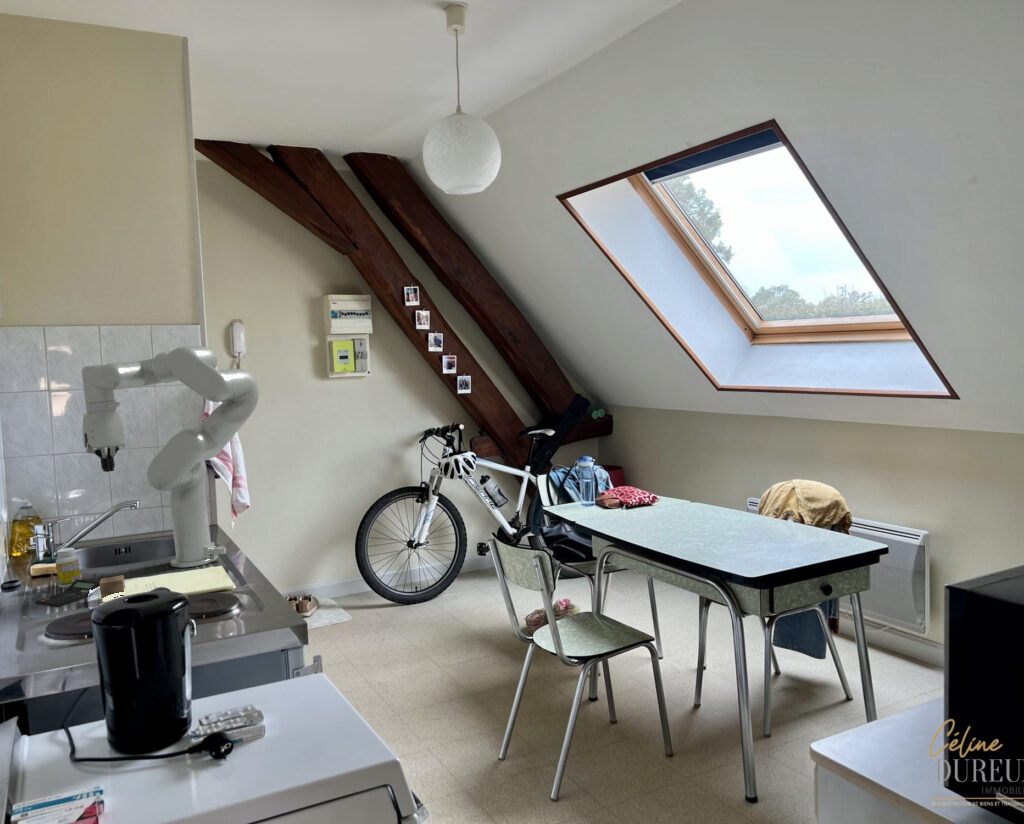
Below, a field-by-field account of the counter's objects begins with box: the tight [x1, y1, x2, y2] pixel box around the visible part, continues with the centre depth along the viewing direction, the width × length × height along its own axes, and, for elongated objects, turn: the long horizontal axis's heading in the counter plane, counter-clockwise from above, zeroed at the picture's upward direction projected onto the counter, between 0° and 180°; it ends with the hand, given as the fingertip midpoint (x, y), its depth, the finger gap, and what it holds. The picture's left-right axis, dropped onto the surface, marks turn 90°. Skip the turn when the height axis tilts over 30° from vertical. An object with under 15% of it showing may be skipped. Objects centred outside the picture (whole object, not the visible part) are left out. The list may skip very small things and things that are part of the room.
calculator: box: [34, 579, 100, 608], centre depth 199 cm, size 9×12×3 cm
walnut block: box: [99, 574, 126, 599], centre depth 196 cm, size 5×5×5 cm
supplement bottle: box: [55, 547, 82, 589], centre depth 211 cm, size 5×5×10 cm
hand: (108, 471), depth 229 cm, fingers closed
